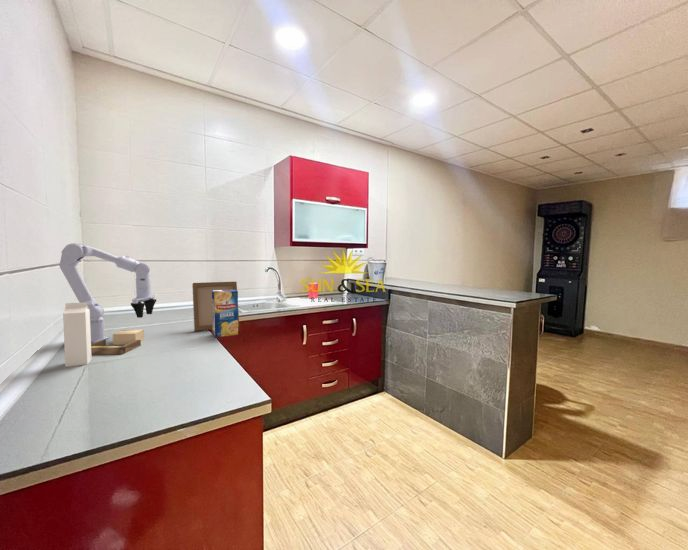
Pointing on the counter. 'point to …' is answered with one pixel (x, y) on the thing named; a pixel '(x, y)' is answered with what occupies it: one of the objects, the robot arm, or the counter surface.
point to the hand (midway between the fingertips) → (144, 315)
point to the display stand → (112, 347)
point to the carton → (127, 336)
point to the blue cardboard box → (224, 313)
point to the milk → (77, 334)
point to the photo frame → (207, 302)
